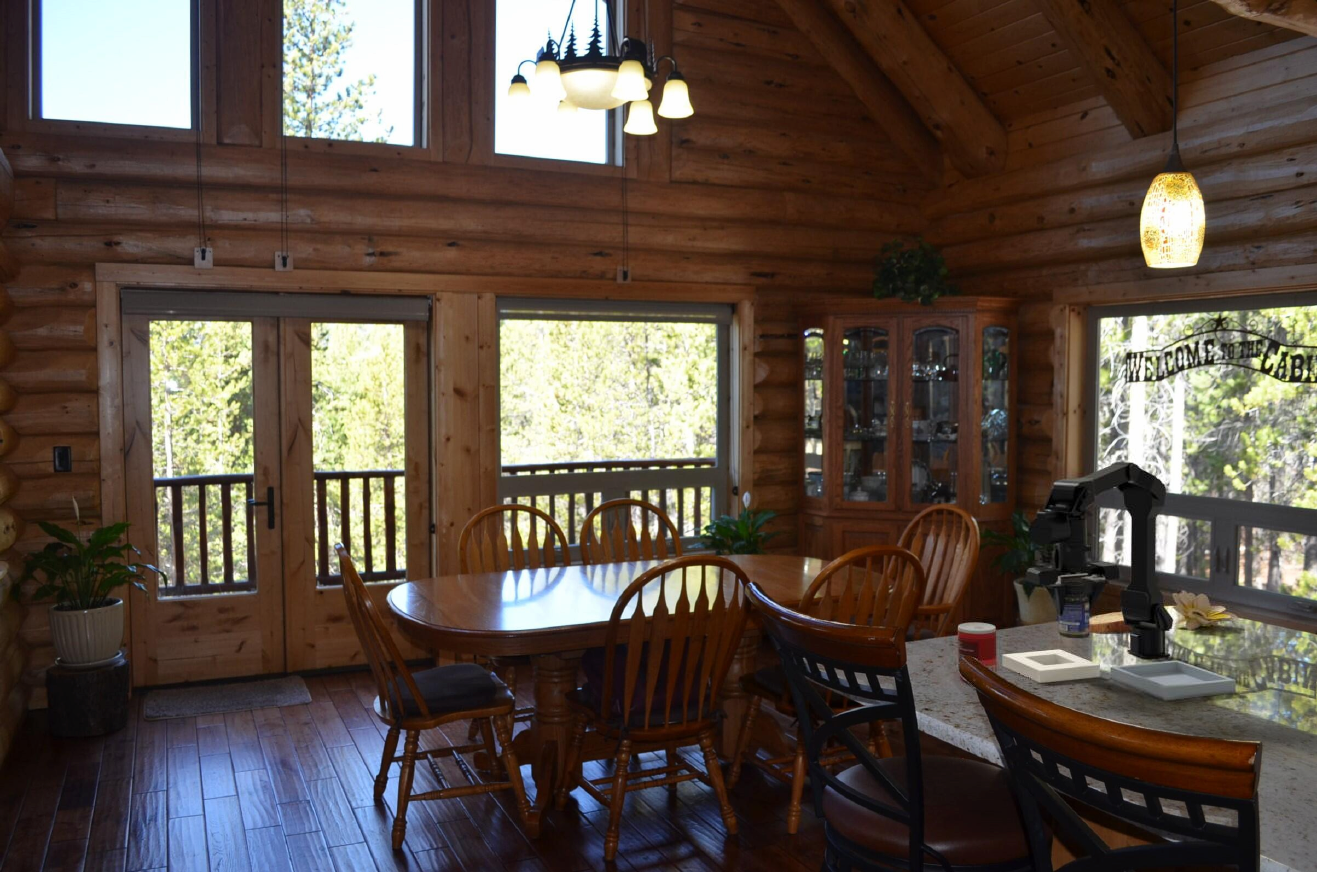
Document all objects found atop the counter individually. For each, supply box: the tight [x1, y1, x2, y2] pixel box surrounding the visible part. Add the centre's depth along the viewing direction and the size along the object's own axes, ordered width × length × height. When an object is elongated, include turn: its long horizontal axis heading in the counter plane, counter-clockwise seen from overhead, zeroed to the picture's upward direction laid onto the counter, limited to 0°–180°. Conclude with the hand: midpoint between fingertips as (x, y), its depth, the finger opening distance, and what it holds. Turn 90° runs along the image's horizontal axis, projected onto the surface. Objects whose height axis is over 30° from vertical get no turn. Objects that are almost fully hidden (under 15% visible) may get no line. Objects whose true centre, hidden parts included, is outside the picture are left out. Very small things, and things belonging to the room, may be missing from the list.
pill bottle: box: [1057, 581, 1091, 640], centre depth 218 cm, size 6×6×11 cm
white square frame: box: [1001, 649, 1101, 684], centre depth 222 cm, size 14×14×2 cm
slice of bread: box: [1089, 611, 1132, 634], centre depth 260 cm, size 18×18×4 cm
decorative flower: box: [1172, 590, 1240, 631], centre depth 256 cm, size 15×11×10 cm
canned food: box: [957, 622, 998, 682], centre depth 218 cm, size 8×8×11 cm
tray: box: [1109, 659, 1237, 701], centre depth 209 cm, size 16×16×2 cm
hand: (1073, 614), depth 219 cm, fingers closed on pill bottle, 6 cm apart
